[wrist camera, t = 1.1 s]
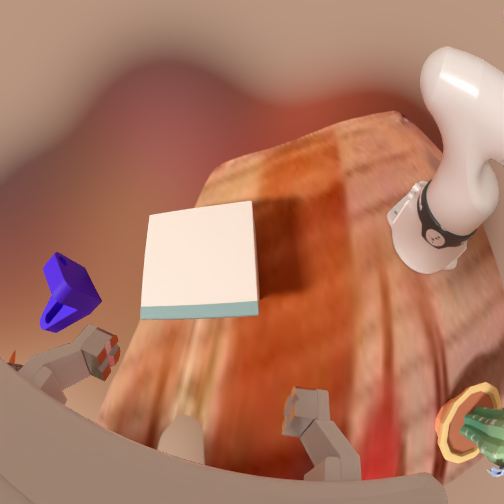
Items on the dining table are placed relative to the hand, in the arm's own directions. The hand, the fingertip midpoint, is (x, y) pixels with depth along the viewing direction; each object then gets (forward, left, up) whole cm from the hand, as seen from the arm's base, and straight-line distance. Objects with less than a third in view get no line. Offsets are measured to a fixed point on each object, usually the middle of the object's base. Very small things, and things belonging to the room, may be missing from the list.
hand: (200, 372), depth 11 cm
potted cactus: (-12, +38, -36) cm, 54 cm away
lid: (-5, -19, -28) cm, 34 cm away
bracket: (+25, -40, -37) cm, 60 cm away
